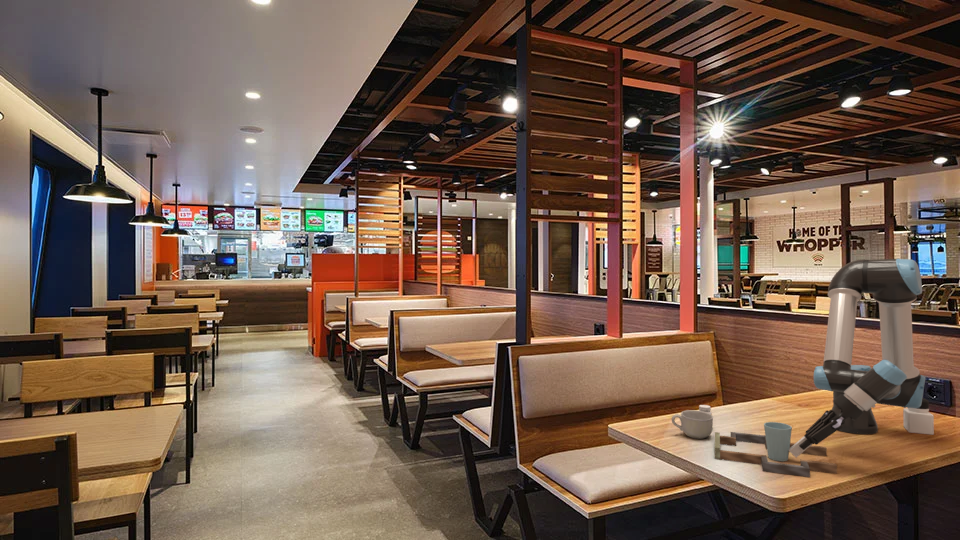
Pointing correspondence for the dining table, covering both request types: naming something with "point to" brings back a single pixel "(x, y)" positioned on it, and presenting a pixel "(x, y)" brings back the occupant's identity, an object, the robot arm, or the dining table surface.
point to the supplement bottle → (705, 408)
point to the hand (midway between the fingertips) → (792, 453)
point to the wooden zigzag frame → (762, 459)
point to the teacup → (695, 423)
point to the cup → (778, 440)
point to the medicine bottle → (919, 419)
